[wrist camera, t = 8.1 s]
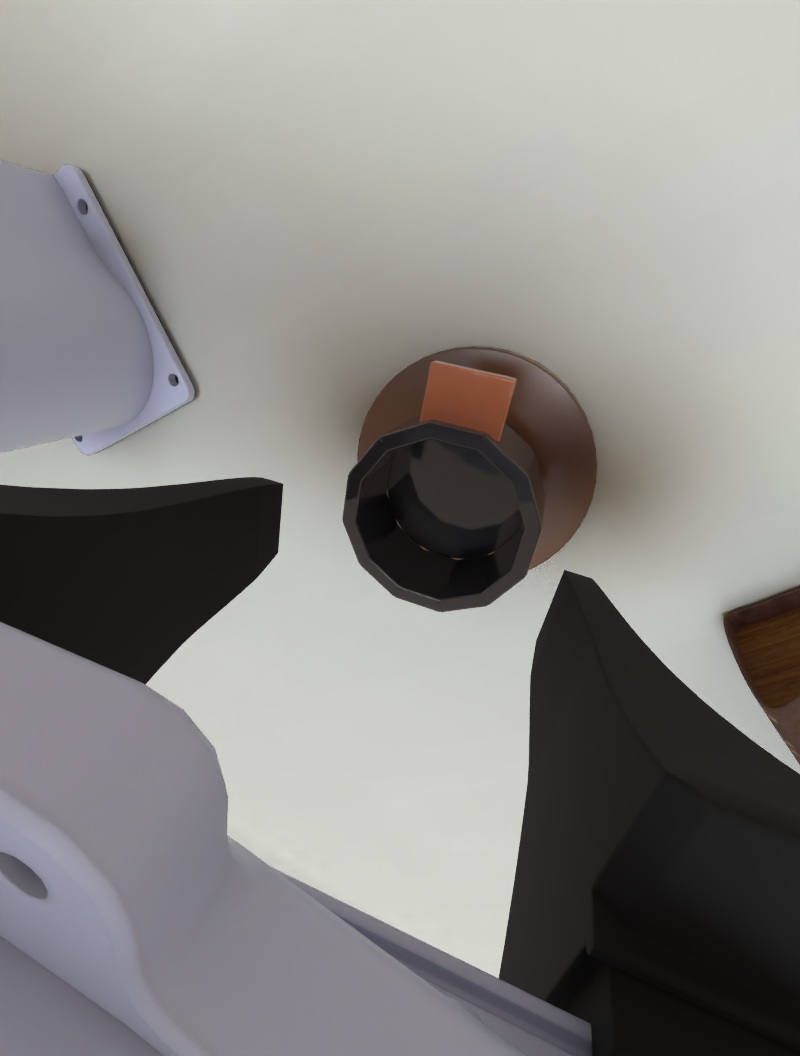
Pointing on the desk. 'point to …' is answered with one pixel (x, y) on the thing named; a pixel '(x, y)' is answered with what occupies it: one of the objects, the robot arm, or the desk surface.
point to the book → (771, 659)
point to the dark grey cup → (449, 496)
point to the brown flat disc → (534, 412)
